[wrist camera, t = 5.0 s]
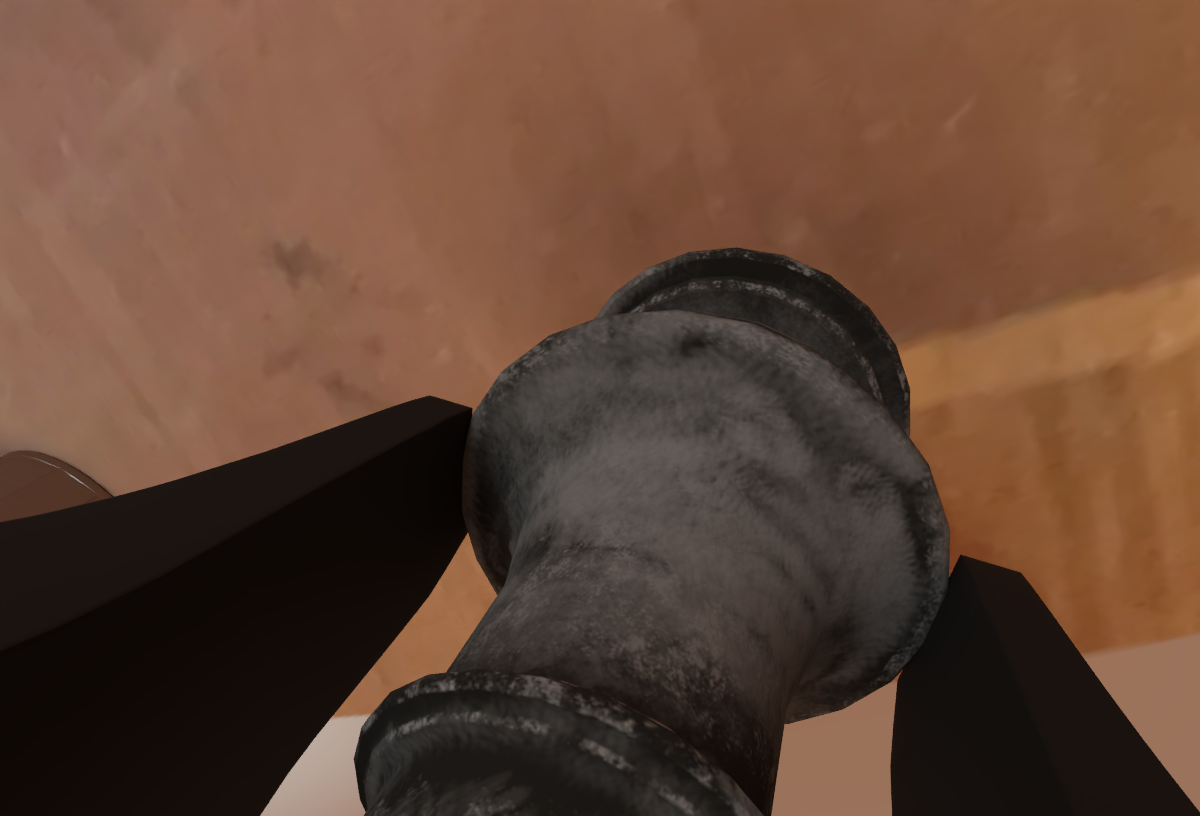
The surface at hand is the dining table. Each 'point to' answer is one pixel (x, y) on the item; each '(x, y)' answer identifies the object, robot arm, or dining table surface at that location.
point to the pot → (42, 486)
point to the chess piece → (674, 554)
